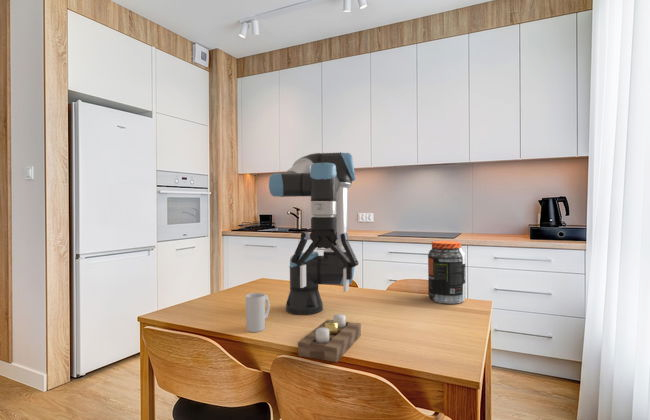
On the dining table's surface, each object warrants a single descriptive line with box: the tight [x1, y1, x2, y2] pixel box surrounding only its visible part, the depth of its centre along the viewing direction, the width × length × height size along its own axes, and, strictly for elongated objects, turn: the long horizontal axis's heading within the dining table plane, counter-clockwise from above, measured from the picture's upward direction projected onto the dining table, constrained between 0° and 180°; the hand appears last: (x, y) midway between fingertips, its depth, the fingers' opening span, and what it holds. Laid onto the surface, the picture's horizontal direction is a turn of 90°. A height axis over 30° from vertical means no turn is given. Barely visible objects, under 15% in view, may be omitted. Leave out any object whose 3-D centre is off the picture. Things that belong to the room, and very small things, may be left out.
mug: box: [245, 292, 271, 333], centre depth 134 cm, size 10×7×12 cm, turn 142°
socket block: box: [297, 318, 362, 363], centre depth 118 cm, size 22×12×4 cm, turn 157°
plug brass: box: [324, 320, 338, 336], centre depth 118 cm, size 4×4×4 cm
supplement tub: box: [427, 240, 467, 305], centre depth 168 cm, size 16×16×26 cm
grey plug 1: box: [315, 327, 329, 344], centre depth 111 cm, size 4×4×4 cm
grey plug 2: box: [332, 313, 347, 328], centre depth 124 cm, size 4×4×4 cm
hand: (324, 288), depth 111 cm, fingers open, 13 cm apart
